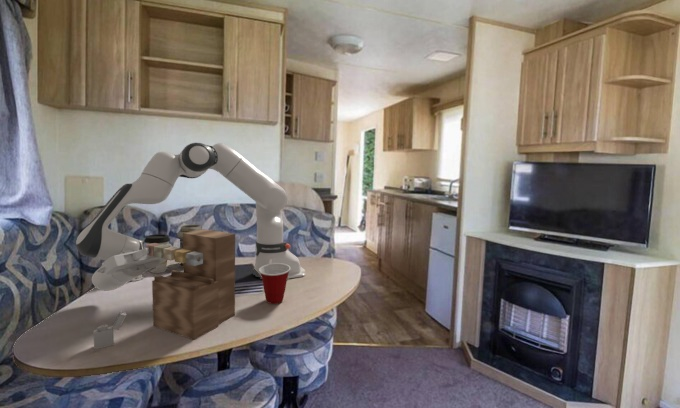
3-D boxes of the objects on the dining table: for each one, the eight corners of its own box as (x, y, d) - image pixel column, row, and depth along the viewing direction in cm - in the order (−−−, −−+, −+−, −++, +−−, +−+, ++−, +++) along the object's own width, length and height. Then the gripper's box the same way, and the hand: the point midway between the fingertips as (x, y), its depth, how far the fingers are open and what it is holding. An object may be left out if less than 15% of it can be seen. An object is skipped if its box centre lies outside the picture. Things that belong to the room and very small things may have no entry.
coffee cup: (139, 272, 147) (138, 237, 146) (157, 266, 157) (156, 233, 155) (158, 275, 145) (158, 239, 143) (175, 268, 154) (175, 235, 153)
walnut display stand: (153, 326, 101) (151, 237, 99) (199, 305, 117) (198, 228, 114) (193, 339, 95) (193, 244, 92) (237, 316, 110) (237, 234, 107)
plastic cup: (251, 302, 121) (251, 268, 120) (271, 293, 131) (272, 261, 129) (276, 309, 116) (277, 274, 115) (295, 299, 126) (296, 266, 124)
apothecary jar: (174, 263, 163) (173, 224, 161) (200, 259, 170) (200, 222, 168) (181, 269, 153) (181, 229, 151) (209, 265, 161) (209, 226, 159)
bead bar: (144, 254, 104) (144, 244, 104) (153, 252, 107) (153, 242, 106) (194, 266, 96) (194, 255, 95) (202, 263, 98) (203, 253, 98)
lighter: (94, 349, 88) (92, 318, 87) (94, 346, 90) (92, 316, 89) (127, 341, 92) (126, 312, 92) (126, 339, 94) (125, 310, 93)
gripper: (90, 263, 101) (116, 245, 95) (154, 249, 119) (180, 233, 113) (97, 283, 100) (124, 267, 94) (161, 266, 118) (187, 251, 113)
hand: (155, 248), depth 104 cm, fingers closed on bead bar, 3 cm apart
